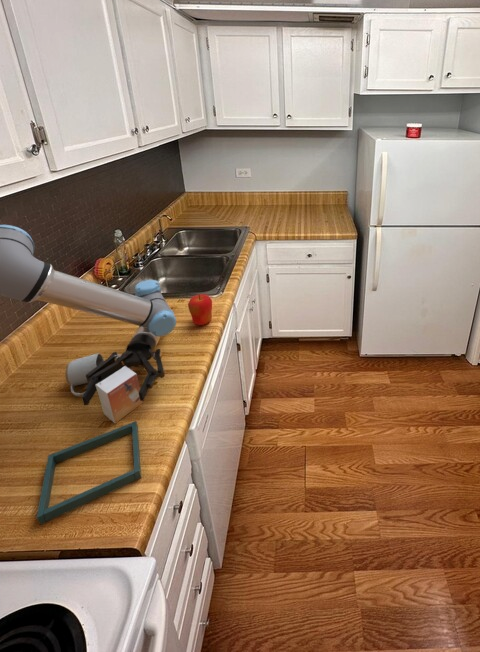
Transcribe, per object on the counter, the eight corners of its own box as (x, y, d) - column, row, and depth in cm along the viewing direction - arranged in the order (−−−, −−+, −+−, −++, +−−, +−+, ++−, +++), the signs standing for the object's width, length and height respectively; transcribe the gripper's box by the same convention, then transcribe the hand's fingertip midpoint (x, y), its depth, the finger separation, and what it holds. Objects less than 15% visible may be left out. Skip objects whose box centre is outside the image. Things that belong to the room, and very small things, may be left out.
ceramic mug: (75, 374, 101) (68, 354, 98) (106, 366, 104) (100, 347, 101) (65, 402, 92) (57, 381, 89) (99, 393, 95) (93, 373, 92)
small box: (115, 424, 85) (106, 394, 82) (103, 414, 88) (94, 384, 84) (144, 402, 92) (137, 373, 88) (132, 393, 95) (125, 364, 91)
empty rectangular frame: (39, 524, 65) (36, 517, 64) (51, 461, 77) (48, 455, 76) (141, 477, 74) (139, 471, 73) (138, 427, 85) (136, 420, 84)
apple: (187, 321, 126) (183, 294, 121) (208, 312, 131) (204, 286, 127) (196, 332, 120) (192, 304, 115) (218, 322, 125) (215, 295, 121)
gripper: (99, 335, 101) (56, 392, 82) (183, 330, 104) (161, 384, 84) (104, 354, 104) (64, 414, 84) (186, 349, 107) (166, 405, 87)
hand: (112, 399), depth 84 cm, fingers open, 13 cm apart
